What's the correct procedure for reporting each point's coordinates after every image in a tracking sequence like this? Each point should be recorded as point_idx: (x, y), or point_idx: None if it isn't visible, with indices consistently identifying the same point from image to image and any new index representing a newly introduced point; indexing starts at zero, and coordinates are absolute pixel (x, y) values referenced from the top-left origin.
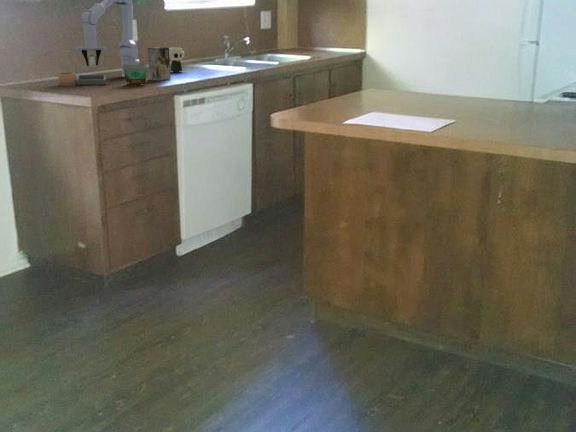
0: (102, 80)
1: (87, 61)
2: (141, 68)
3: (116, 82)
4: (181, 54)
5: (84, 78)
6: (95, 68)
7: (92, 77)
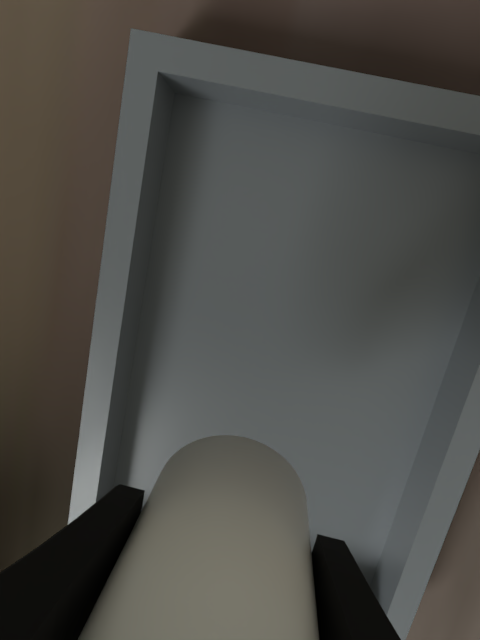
0: (181, 43)
1: (350, 609)
2: None
3: (6, 253)
4: None
5: None
6: (187, 446)
7: None
